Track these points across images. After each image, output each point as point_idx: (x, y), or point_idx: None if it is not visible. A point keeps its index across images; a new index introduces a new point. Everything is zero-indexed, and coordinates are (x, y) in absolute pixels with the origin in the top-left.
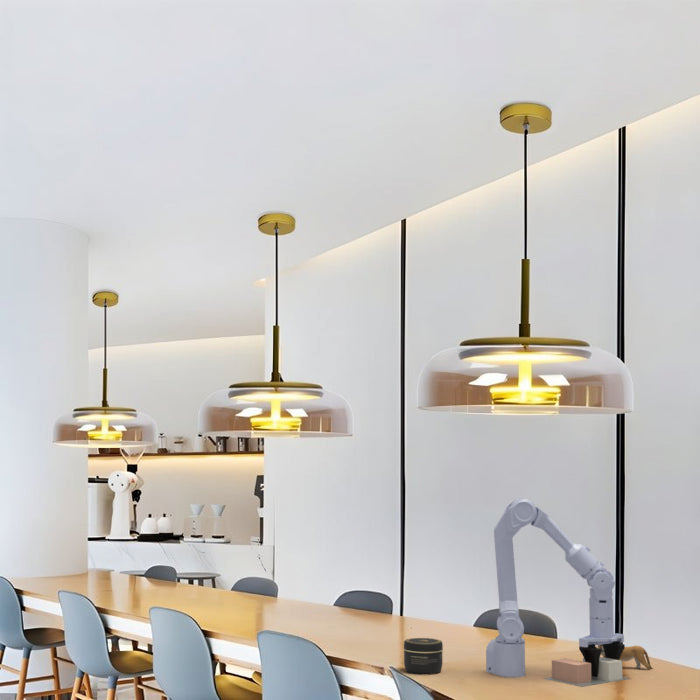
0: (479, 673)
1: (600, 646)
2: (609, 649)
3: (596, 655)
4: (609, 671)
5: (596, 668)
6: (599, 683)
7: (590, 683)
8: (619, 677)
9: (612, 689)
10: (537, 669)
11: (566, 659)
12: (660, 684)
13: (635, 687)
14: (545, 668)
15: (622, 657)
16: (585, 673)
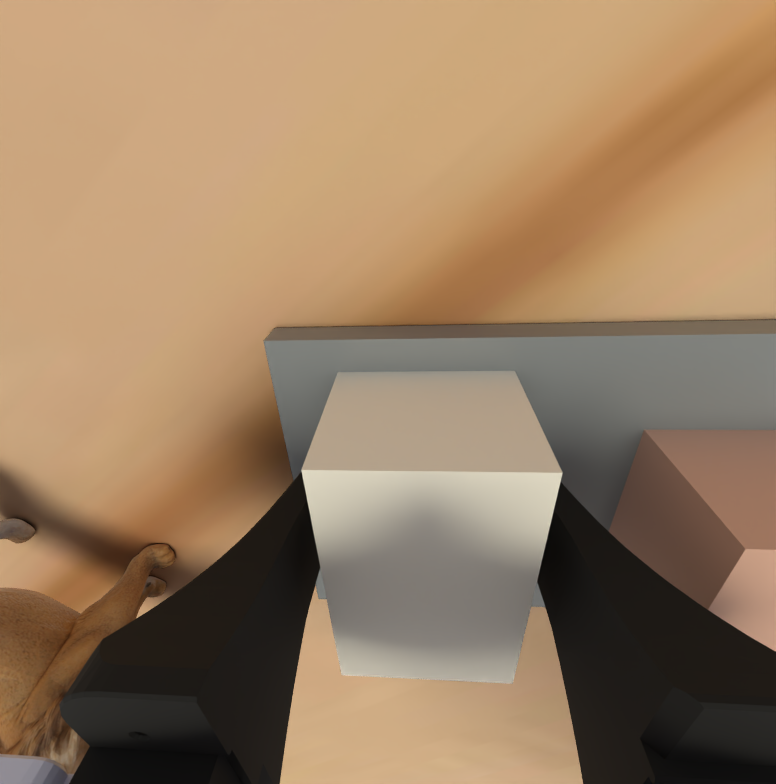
0: None
1: None
2: (271, 694)
3: (705, 622)
4: (522, 414)
5: (582, 509)
6: (692, 342)
7: (746, 382)
8: (374, 378)
9: (648, 226)
10: (451, 713)
11: None
12: (58, 134)
13: (387, 169)
14: (404, 709)
15: (51, 621)
16: (773, 477)
